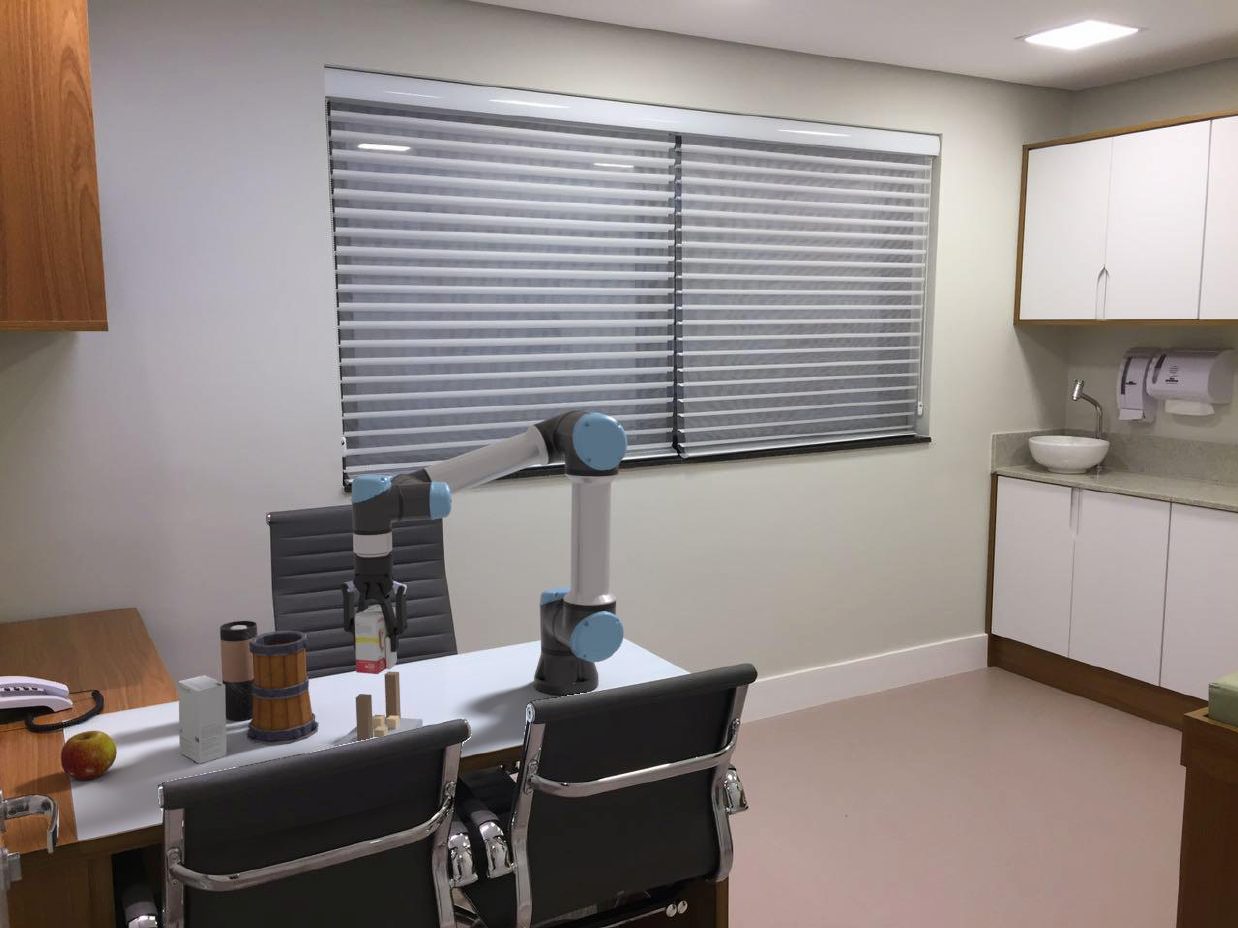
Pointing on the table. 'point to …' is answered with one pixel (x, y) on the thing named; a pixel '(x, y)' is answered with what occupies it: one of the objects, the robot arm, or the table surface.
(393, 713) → the peg cradle
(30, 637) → the table surface
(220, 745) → the skincare box
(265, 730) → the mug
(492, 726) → the table surface
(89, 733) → the fruit
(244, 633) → the travel mug
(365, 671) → the ink box
